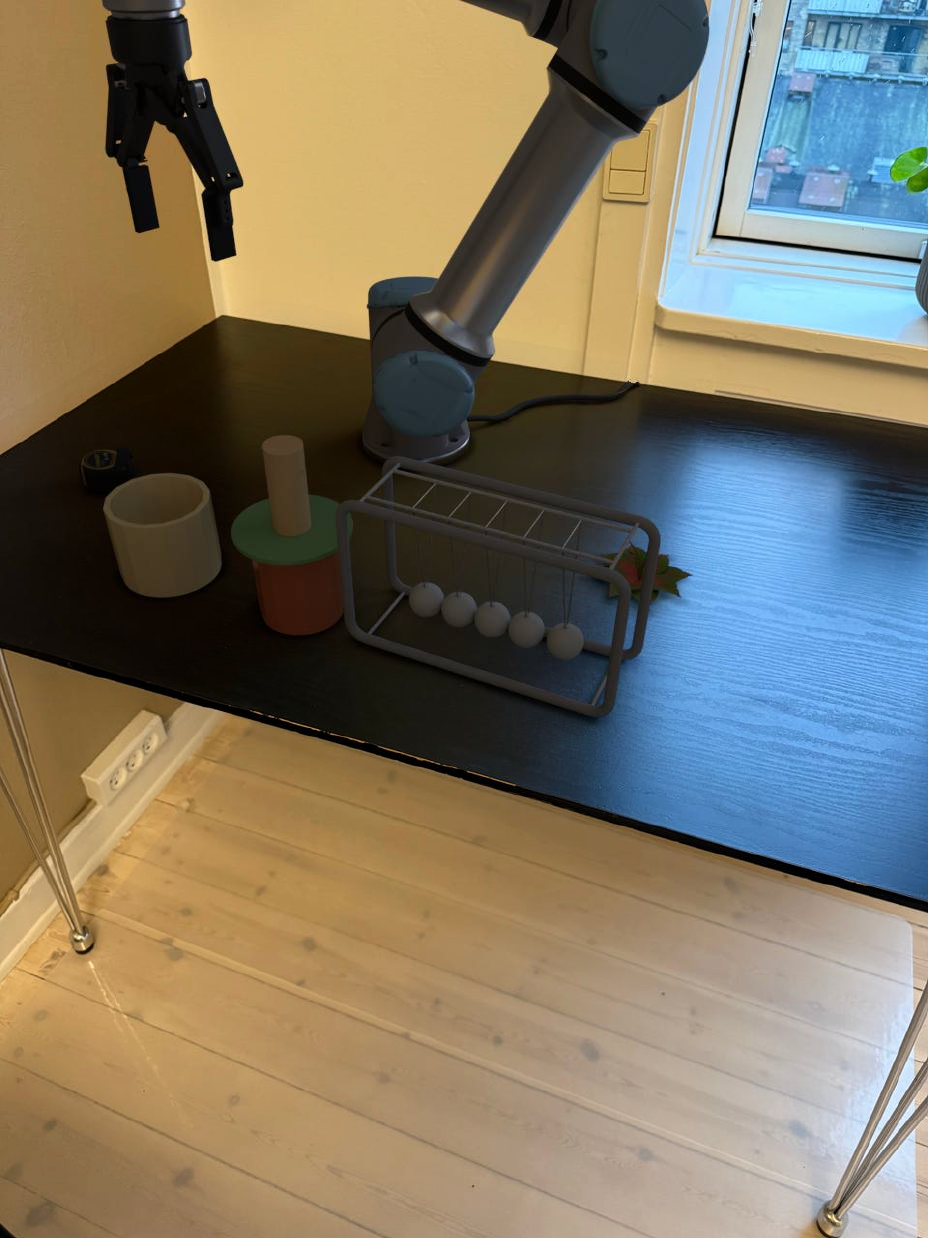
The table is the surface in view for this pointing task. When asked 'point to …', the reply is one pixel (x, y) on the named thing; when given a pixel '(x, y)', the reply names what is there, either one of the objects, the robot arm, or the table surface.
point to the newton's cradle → (493, 615)
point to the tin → (164, 534)
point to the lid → (287, 512)
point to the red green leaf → (633, 572)
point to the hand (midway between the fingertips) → (184, 243)
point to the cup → (300, 595)
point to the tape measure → (106, 469)
